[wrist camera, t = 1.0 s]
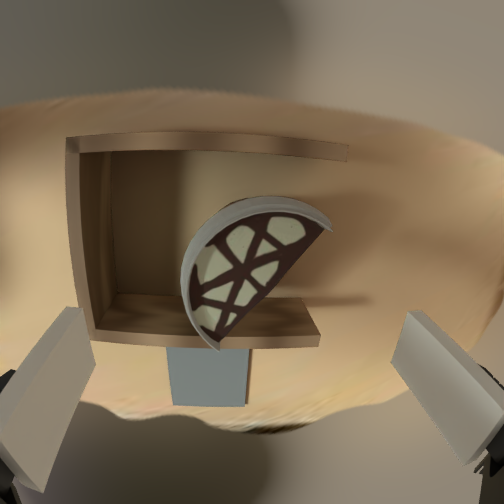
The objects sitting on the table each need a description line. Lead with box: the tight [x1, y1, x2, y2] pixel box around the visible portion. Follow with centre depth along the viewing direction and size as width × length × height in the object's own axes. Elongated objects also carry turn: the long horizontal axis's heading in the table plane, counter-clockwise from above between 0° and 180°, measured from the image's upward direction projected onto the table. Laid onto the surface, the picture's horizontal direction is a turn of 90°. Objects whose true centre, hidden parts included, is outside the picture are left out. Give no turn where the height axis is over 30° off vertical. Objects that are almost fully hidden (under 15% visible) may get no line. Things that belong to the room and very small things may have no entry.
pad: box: [166, 347, 249, 407], centre depth 33 cm, size 9×14×1 cm, turn 176°
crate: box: [65, 132, 348, 349], centre depth 25 cm, size 20×16×7 cm
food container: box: [180, 196, 333, 352], centre depth 23 cm, size 12×6×10 cm, turn 139°
